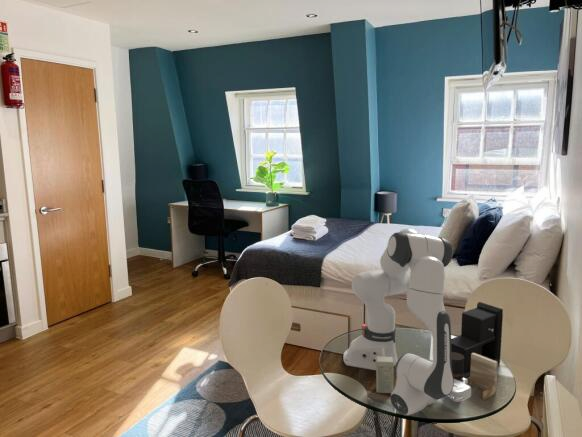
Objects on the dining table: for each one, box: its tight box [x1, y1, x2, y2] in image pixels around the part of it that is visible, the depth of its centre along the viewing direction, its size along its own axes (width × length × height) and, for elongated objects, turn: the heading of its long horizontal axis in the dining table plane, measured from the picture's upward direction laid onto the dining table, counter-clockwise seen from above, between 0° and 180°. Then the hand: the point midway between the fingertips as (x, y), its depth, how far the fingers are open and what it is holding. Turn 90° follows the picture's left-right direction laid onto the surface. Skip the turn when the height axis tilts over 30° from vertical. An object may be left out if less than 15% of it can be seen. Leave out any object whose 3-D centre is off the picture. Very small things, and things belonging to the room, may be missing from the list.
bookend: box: [451, 301, 504, 378], centre depth 175 cm, size 23×11×24 cm, turn 123°
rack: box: [466, 353, 499, 401], centre depth 159 cm, size 8×9×12 cm
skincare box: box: [375, 356, 395, 394], centre depth 160 cm, size 6×4×12 cm
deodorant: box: [451, 352, 464, 382], centre depth 156 cm, size 6×6×15 cm
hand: (453, 374), depth 156 cm, fingers open, 8 cm apart
